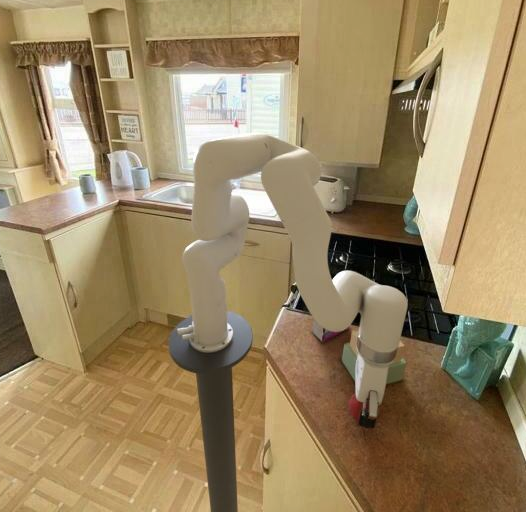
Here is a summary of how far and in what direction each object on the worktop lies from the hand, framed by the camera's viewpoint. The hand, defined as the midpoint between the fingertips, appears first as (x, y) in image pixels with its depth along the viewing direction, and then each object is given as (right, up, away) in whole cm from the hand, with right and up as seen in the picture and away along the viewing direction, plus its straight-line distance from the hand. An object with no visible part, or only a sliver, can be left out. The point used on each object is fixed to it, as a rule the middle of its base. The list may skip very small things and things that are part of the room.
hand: (365, 404), depth 68 cm
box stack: (+6, +1, +14) cm, 16 cm away
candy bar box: (-2, +7, +27) cm, 29 cm away
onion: (0, -5, +2) cm, 5 cm away
